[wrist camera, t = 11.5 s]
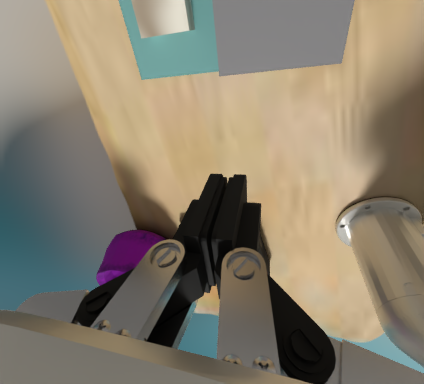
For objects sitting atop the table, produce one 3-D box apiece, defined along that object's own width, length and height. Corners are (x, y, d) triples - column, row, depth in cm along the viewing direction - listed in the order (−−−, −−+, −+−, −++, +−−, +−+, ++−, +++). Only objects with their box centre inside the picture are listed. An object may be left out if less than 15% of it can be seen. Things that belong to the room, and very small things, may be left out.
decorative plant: (135, 208, 49) (22, 371, 27) (200, 248, 54) (151, 416, 31) (110, 242, 61) (15, 378, 38) (165, 272, 65) (111, 410, 42)
